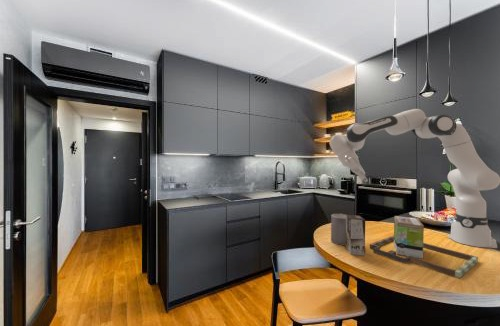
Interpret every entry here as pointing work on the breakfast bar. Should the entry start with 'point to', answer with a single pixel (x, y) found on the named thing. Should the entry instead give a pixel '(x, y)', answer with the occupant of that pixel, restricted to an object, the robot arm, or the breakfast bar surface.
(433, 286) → the breakfast bar surface
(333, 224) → the pillar candle
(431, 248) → the channel
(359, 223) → the coffee box
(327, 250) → the breakfast bar surface
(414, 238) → the tea box
